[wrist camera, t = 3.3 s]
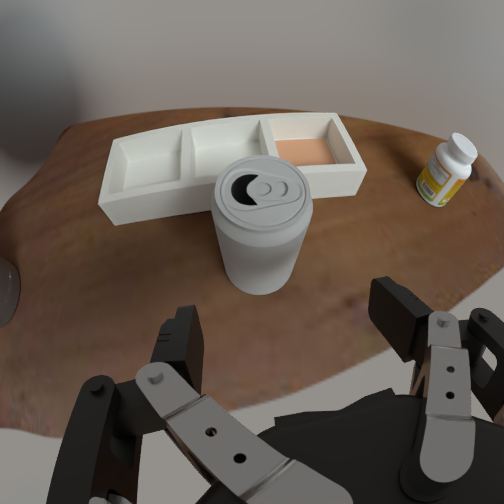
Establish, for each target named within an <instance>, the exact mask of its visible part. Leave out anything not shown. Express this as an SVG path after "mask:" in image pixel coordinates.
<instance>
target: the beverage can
mask: <svg viewBox="0 0 504 504" xmlns="http://www.w3.org/2000/svg"><path fill="white" fill-rule="evenodd" d="M211 211H212V216H213V220H214V225H215V229H216V233H217V237H218V242H219V246H220V250H221V254H222V258H223V262H224V266H225V270H226V273H227V276H228V278H229V279H230V281H231V282H232V283H233V284H234V285H235V286H236V287H237V288H238V289H240V290H242V291H244V292H246V293H249V294H253V295H264V294H269V293H272V292H274V291H276V290H278V289H279V288H281V287H282V286H283V285H284V284H285V283H286V282H287V280H288V279H289V277H290V275H291V272H292V270H293V267H294V264H295V261H296V259H297V256H298V253H299V250H300V248H301V245H302V242H303V239H304V236H305V234H306V231H307V228H308V225H309V222H310V219H311V216H312V211H313V202H312V197H311V194H310V187H309V184H308V181H307V179H306V177H305V176H304V174H303V173H302V172H301V171H300V170H299V169H298V168H297V167H296V166H294V165H293V164H292V163H290V162H288V161H286V160H284V159H281V158H278V157H274V156H269V155H254V156H248V157H244V158H241V159H239V160H237V161H235V162H233V163H231V164H230V165H228V166H227V167H226V168H225V169H224V170H223V171H222V173H221V174H220V175H219V177H218V179H217V181H216V184H215V189H214V191H213V194H212V198H211Z"/></svg>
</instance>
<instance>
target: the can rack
mask: <svg viewBox="0 0 504 504" xmlns="http://www.w3.org/2000/svg"><path fill="white" fill-rule="evenodd" d="M254 155H269V156H274V157H278V158H281V159H284V160H286V161H288V162H290V163H292V164H293V165H294V166H296V167H297V168H298V169H299V170H300V171H301V172H302V173H303V174H304V176H305V177H306V179H307V181H308V184H309V187H310V194H311V197H312V199H314V198H326V197H338V196H352V195H356V192H357V190H358V188H359V186H360V184H361V182H362V180H363V178H364V176H365V174H366V172H367V169H366V167H365V165H364V163H363V161H362V159H361V157H360V155H359V153H358V151H357V149H356V147H355V145H354V144H353V142H352V140H351V138H350V136H349V134H348V132H347V131H346V129H345V127H344V125H343V124H342V122H341V120H340V118H339V117H338V115H337V113H325V112H307V113H276V114H264V115H251V116H240V117H231V118H222V119H214V120H207V121H200V122H194V123H188V124H182V125H176V126H171V127H166V128H161V129H156V130H151V131H147V132H142V133H138V134H134V135H130V136H126V137H122V138H118V139H115V140H113V144H112V147H111V151H110V155H109V158H108V162H107V166H106V170H105V174H104V178H103V183H102V187H101V192H100V197H99V202H98V205H99V206H100V207H101V208H102V210H103V211H104V212H105V214H106V215H107V216H108V217H109V219H110V220H111V221H112V223H113V224H114V225H115V226H116V225H122V224H127V223H133V222H139V221H145V220H150V219H157V218H163V217H169V216H175V215H182V214H188V213H195V212H202V211H209V210H211V198H212V194H213V191H214V189H215V184H216V181H217V179H218V177H219V175H220V174H221V173H222V171H223V170H224V169H225V168H226V167H227V166H228V165H230V164H231V163H233V162H235V161H237V160H239V159H241V158H244V157H248V156H254Z"/></svg>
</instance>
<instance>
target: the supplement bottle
mask: <svg viewBox="0 0 504 504" xmlns="http://www.w3.org/2000/svg"><path fill="white" fill-rule="evenodd" d="M476 157H477V150H476V148H475V147H474V145H473V144H472V143H471V142H470V141H469V140H468V139H467V138H466V137H464V136H463V135H461V134H459V133H453V134H452V135H451V137H450V138H449V139H448V142H447V143H441V144H439V146H438V147H437V148H436V150H435V152H434V153H433V155H432V156H431V158H430V160H429V161H428V163H427V164H426V166H425V167H424V169H423V171H422V172H421V174H420V175H419V177H418V178H417V181H416V186H417V189H418V191H419V193H420V195H421V196H422V198H423V199H424V200H425V201H426V202H428V203H429V204H431V205H433V206H436V207H441V206H444V205H445V204H446V203H447V202H448V201H449V200H450V198H451V197H452V196H453V195H454V194H455V193H456V191H457V190H458V189H459V188H460V187H461V185H462V184H463V183H464V182H465V181H466V179H467V178H468V177H469V175H470V174H471V164H472V163H473V162H474V160H475V159H476Z"/></svg>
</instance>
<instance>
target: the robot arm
mask: <svg viewBox="0 0 504 504" xmlns="http://www.w3.org/2000/svg"><path fill="white" fill-rule="evenodd" d="M19 293H20V278H19V273H18V271H17V269H16V267H15V266H14V265H13V264H11V263H10V262H8V261H7V260H5V259H4V258H2V257H1V256H0V327H1V326H4V325H5V324H6V323H7V322H8V321H9V320H10V319H11V317H12V315H13V314H14V311H15V309H16V306H17V303H18V299H19ZM368 313H369V317H370V319H371V321H372V322H373V323H374V325H375V326H376V327H377V328H378V330H379V331H380V332H381V333H382V335H383V336H384V337H385V339H386V340H387V341H388V342H389V344H390V345H391V346H392V348H393V349H394V350H395V352H396V353H397V354H398V355H399V357H400V358H401V359H402V361H403V362H404V363H405V362H409V361H411V360H415V361H416V362H415V365H414V368H413V375H412V381H411V387H410V393H409V395H395V393H394V392H393V390H392V388H388V389H386V390H383V391H380V392H377V393H374V394H371V395H368V396H365V397H363V398H361V399H360V400H358V401H356V402H354V403H353V404H351V405H349V406H347V407H345V408H343V409H341V410H337V411H314V412H302V413H296V414H291V415H286V416H280V417H274V420H275V426H273V427H271V428H269V429H267V430H265V431H263V432H261V433H259V434H258V435H255V434H254V433H252V432H251V431H250V430H248V429H247V428H246V427H245V426H243V425H242V424H241V423H240V422H238V421H237V420H236V419H235V418H234V417H233V416H231V415H230V414H229V413H228V412H227V411H226V410H224V409H223V408H222V407H221V406H220V405H219V404H218V403H216V402H215V401H214V400H213V399H212V398H211V397H210V396H208V395H206V394H204V395H203V396H201V384H202V369H203V355H204V339H203V334H202V330H201V326H200V322H199V317H198V313H197V309H196V306H195V305H192V306H182V307H178V308H177V312H176V316H175V319H167V320H166V322H165V323H164V324H163V325H162V326H161V328H160V331H159V336H158V338H157V342H156V344H155V347H154V351H153V354H152V357H151V361H150V364H148V365H145V366H144V367H142V368H141V369H140V370H139V371H138V373H137V375H136V379H134V380H131V381H127V382H123V383H119V384H115V383H114V381H113V380H112V379H111V378H110V377H108V376H105V375H99V376H95V377H92V378H90V379H89V380H87V381H86V382H85V383H84V384H83V386H82V388H81V390H80V393H79V395H78V398H77V400H76V403H75V406H74V408H73V411H72V414H71V417H70V419H69V422H68V425H67V428H66V431H65V434H64V437H63V440H62V444H61V447H60V450H59V454H58V457H57V461H56V464H55V468H54V472H53V475H52V479H51V484H50V488H49V492H48V497H47V502H46V504H137V490H138V475H139V464H140V454H141V445H142V438H143V434H148V433H152V432H156V431H160V430H164V431H165V432H166V434H167V435H168V436H169V437H170V439H171V440H172V441H173V442H174V444H175V445H176V446H177V447H178V449H179V450H180V451H181V452H182V453H183V454H184V456H185V457H186V458H187V459H188V460H189V461H190V462H191V464H192V465H193V466H194V468H195V469H196V470H197V471H198V472H199V473H200V474H201V476H202V477H203V478H204V479H205V480H206V481H207V482H208V483H209V484H210V485H211V487H210V488H209V489H208V490H207V492H206V493H205V494H204V495H203V496H202V497H201V498H200V499H199V500H198V501H197V502H196V504H504V322H502V321H501V320H500V319H499V318H498V317H497V316H496V315H494V314H493V313H492V312H491V311H489V310H487V309H484V308H476V309H473V310H472V311H471V314H470V318H469V320H459V321H458V320H457V319H456V317H455V316H454V315H452V314H450V313H448V312H444V311H436V312H434V311H433V310H431V309H430V308H429V307H428V306H427V305H426V304H425V303H424V302H422V301H421V300H420V299H418V297H417V296H416V295H413V293H412V292H411V291H410V290H409V289H407V288H405V287H403V286H401V285H399V284H397V283H395V282H394V281H393V280H392V279H391V278H390V277H388V276H386V277H381V278H376V279H373V280H372V282H371V288H370V297H369V306H368ZM486 347H487V348H488V349H489V350H490V351H491V352H492V353H493V354H494V355H495V357H496V359H497V366H496V369H495V371H493V370H492V369H491V367H490V366H489V365H488V364H487V363H486V361H485V360H484V359H483V358H482V355H483V353H484V351H485V349H486ZM471 391H472V392H473V394H474V395H475V396H476V398H477V399H478V400H479V402H480V403H481V405H482V406H483V408H484V409H485V411H486V412H487V413H488V415H489V416H490V418H491V419H492V421H493V422H494V423H492V422H489V421H486V420H483V419H480V418H476V417H474V416H471Z"/></svg>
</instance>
